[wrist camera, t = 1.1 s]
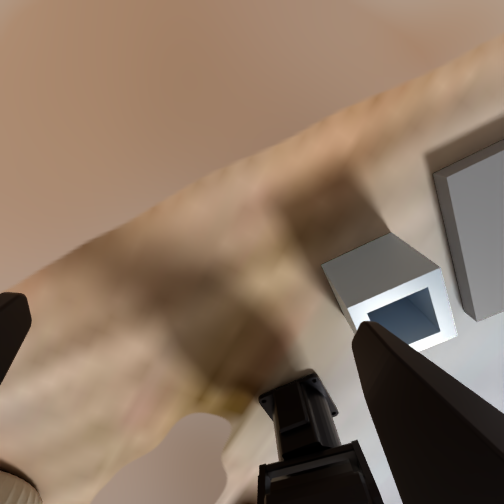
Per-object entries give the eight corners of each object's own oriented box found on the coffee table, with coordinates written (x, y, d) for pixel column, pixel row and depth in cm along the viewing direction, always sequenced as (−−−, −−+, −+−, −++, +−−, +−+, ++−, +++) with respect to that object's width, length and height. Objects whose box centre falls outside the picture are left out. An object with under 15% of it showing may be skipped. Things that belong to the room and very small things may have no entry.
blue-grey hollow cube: (409, 289, 25) (457, 335, 20) (344, 317, 26) (374, 369, 21) (391, 232, 23) (440, 267, 17) (320, 264, 24) (347, 308, 18)
